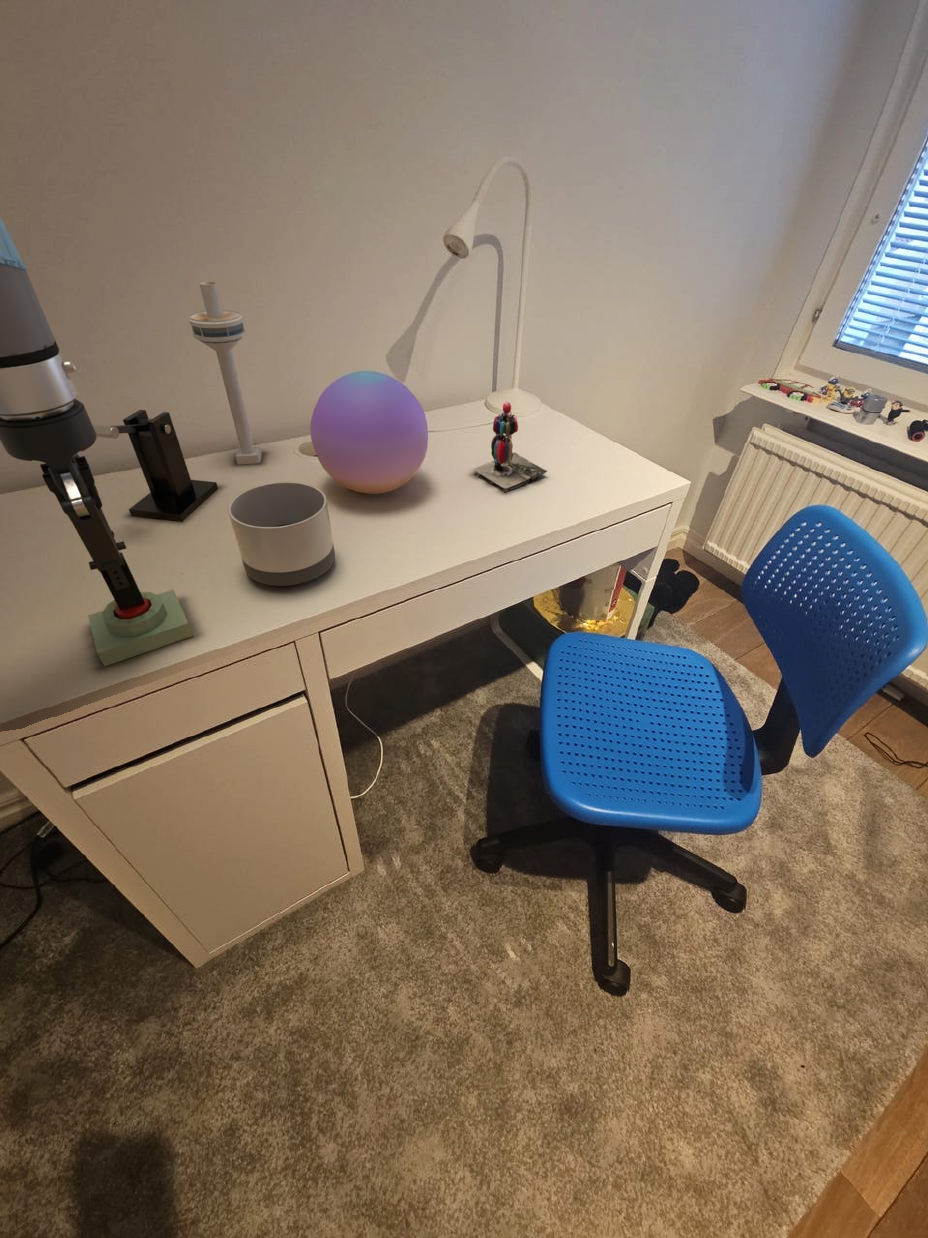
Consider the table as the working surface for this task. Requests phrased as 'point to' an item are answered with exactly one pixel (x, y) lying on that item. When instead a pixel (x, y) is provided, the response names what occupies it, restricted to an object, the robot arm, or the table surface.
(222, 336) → the model tower
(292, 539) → the planter
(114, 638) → the button base
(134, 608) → the button
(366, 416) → the ball
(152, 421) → the bracket
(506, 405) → the statue
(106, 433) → the lever
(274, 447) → the table surface
